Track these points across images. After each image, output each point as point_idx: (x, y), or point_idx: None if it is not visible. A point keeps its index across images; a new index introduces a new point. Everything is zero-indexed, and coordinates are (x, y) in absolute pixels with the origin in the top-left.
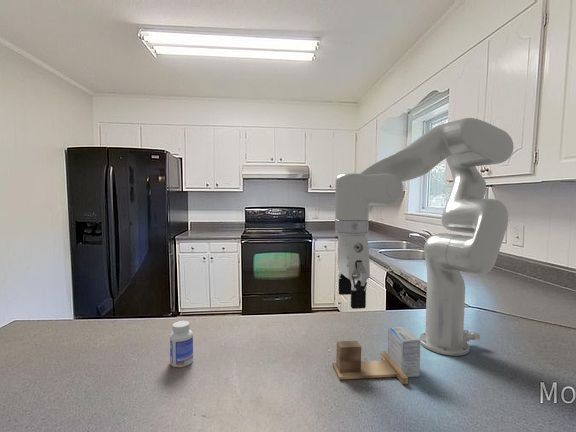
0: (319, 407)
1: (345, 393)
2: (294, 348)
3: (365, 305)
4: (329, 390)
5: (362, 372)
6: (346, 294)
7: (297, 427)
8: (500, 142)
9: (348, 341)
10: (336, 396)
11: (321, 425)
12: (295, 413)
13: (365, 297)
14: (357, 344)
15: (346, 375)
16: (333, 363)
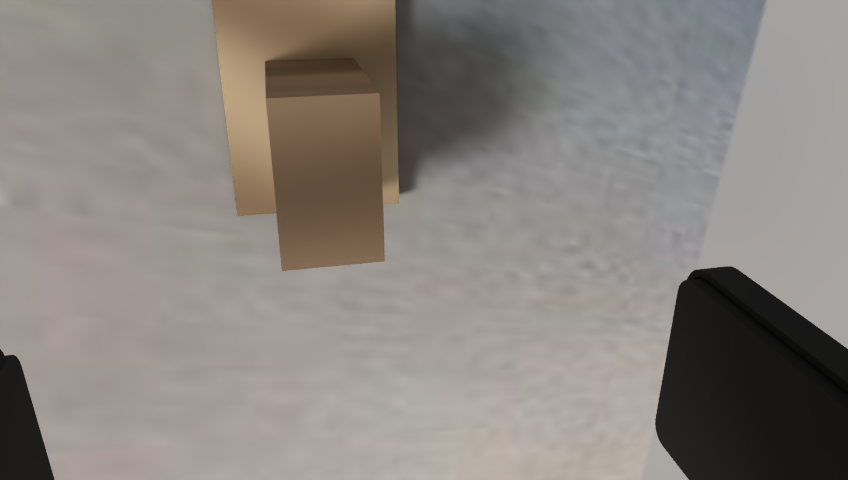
0: (581, 313)
1: (507, 186)
2: None
3: (746, 279)
4: (475, 259)
5: (358, 47)
6: (26, 421)
7: None
8: None
9: (281, 178)
10: (523, 233)
11: None
12: (597, 398)
13: (839, 349)
14: (339, 115)
15: (386, 159)
16: (246, 212)
